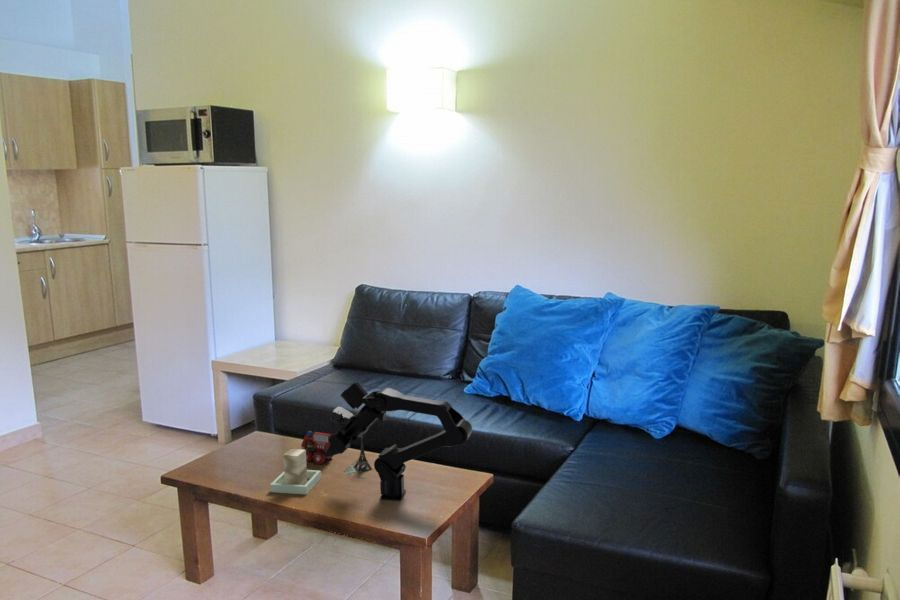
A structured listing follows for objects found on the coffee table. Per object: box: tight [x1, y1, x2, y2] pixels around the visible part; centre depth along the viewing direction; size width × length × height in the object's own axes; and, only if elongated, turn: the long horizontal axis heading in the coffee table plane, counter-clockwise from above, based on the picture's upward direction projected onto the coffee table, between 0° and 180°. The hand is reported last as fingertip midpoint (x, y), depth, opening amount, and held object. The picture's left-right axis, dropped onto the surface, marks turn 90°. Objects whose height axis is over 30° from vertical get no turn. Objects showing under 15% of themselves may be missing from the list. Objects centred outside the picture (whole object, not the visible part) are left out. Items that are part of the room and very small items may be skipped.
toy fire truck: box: [300, 430, 334, 465], centre depth 234 cm, size 7×12×10 cm, turn 64°
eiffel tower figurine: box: [342, 435, 373, 479], centre depth 226 cm, size 15×10×13 cm
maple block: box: [282, 448, 308, 485], centre depth 214 cm, size 5×6×11 cm
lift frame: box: [269, 469, 322, 495], centre depth 214 cm, size 12×12×2 cm
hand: (332, 450), depth 209 cm, fingers open, 9 cm apart
